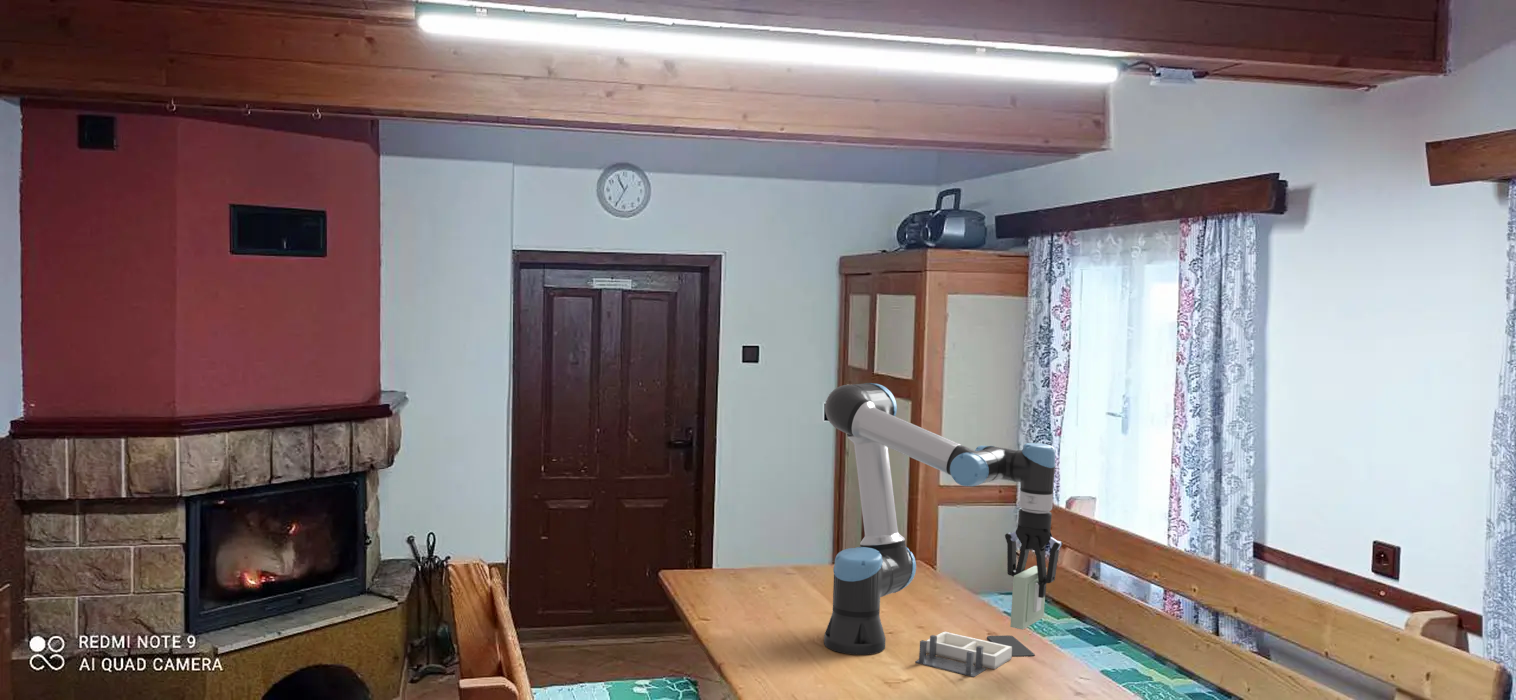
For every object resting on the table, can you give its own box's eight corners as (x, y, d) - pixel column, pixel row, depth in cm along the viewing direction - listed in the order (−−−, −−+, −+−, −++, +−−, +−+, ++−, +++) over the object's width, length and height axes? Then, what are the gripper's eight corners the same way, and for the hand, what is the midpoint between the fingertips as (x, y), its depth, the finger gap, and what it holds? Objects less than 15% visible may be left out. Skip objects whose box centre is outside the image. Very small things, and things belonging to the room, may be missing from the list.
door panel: (1027, 630, 252) (1031, 579, 251) (1010, 626, 254) (1013, 575, 253) (1048, 618, 262) (1051, 568, 261) (1031, 614, 265) (1034, 565, 264)
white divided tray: (925, 652, 268) (926, 640, 268) (943, 643, 276) (944, 631, 276) (994, 669, 258) (995, 656, 258) (1011, 658, 266) (1011, 646, 266)
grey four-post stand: (915, 662, 260) (916, 640, 260) (928, 655, 266) (929, 633, 266) (973, 677, 252) (974, 654, 252) (986, 669, 258) (987, 647, 257)
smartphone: (1007, 655, 268) (985, 635, 282) (1007, 659, 268) (985, 639, 283) (1036, 654, 269) (1012, 635, 284) (1036, 658, 269) (1012, 638, 284)
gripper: (996, 506, 258) (989, 604, 260) (1063, 517, 249) (1056, 619, 250) (1008, 502, 265) (1002, 598, 266) (1075, 513, 255) (1068, 612, 256)
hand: (1028, 608), depth 258 cm, fingers closed on door panel, 3 cm apart
